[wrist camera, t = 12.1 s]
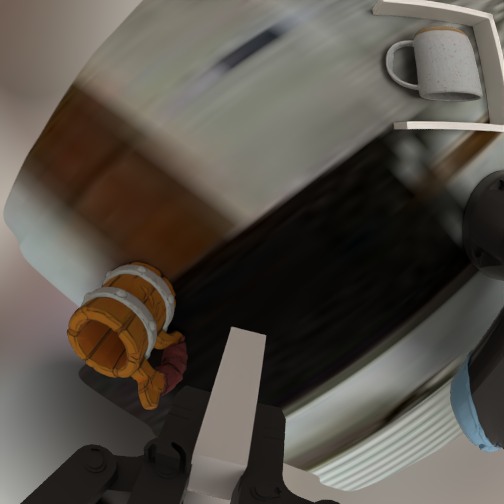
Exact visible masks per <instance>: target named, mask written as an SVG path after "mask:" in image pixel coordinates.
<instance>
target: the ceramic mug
mask: <svg viewBox="0 0 504 504" xmlns="http://www.w3.org/2000/svg"><path fill="white" fill-rule="evenodd" d="M407 46H413V47H414V53H415V60H416V66H417V77H418V85H412V84H409V83H407V82H404V81H402V80H400V79H399V78H398V77H397V76H396V75H395V74H393V59H394V55H393V54H394V52H395V51H396V50H397V49H399V48H402V47H407ZM386 67H387V71H388V73H389V74H390V76H391V77H392V79H393V80H394V81H395V82H397V83H398V84H400V85H402V86H403V87H406V88H410V89H414V90H418V91H419V94H420V96H421V97H422V98H425V99H429V100H436V101H473V100H478V99H481V98H482V95H483V94H482V89H481V84H480V79H479V74H478V69H477V65H476V61H475V57H474V52H473V49H472V45H471V43H470V41H469V39H468V37H467V35H466V34H465V33H464V32H462V31H461V30H459V29H456V28H453V27H447V26H434V27H427V28H423V29H421V30H419V31H418V32H417V33H416V34H415V36H414V40H413V41H410V40H408V41H400V42H398V43H395V44H394V45H393V46H392V47H391V48H390V49H389V50H388V52H387V55H386Z"/></svg>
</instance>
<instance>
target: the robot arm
mask: <svg viewBox="0 0 504 504" xmlns="http://www.w3.org/2000/svg"><path fill="white" fill-rule="evenodd" d="M463 243H464V247H465V251H466V254H467V256H468V258H469V260H470V261H471V262H472V264H473V265H474V266H475V267H476V268H477V269H479V270H480V271H481V272H482V273H483V274H485V275H487V276H489V277H491V278H494V279H499V280H503V281H504V171H497V172H494V173H492V174H490V175H489V176H487V177H486V178H485V179H483V180H482V181H481V182H480V184H479V185H478V186H477V187H476V189H475V190H474V192H473V193H472V195H471V197H470V199H469V202H468V204H467V207H466V210H465V214H464V220H463ZM265 340H266V335H262V334H258V333H254V332H250V331H246V330H242V329H238V328H234V327H232V328H231V331H230V334H229V338H228V341H227V344H226V347H225V351H224V354H223V357H222V361H221V364H220V367H219V370H218V374H217V377H216V380H215V383H214V387H213V390H212V393H211V392H207V391H203V390H200V389H196V388H193V387H189V386H185V387H184V388H183V389H181V390H180V391H179V392H178V393H177V394H176V396H175V399H174V401H173V403H172V406H171V408H170V410H169V413H168V415H167V418H166V420H165V422H164V425H163V427H162V430H161V432H160V434H159V437H158V438H155V439H153V440H151V441H149V442H148V443H147V445H146V446H145V447H144V455H142V456H138V457H126V456H117V455H113V454H112V453H111V452H110V451H109V450H108V449H106V448H104V447H102V446H100V445H92V444H91V445H86V446H83V447H82V448H80V449H78V450H77V451H76V452H75V453H74V454H73V455H72V456H71V457H70V458H69V459H68V460H67V461H66V462H64V463H63V464H62V465H61V466H60V467H59V468H58V469H57V470H56V471H55V472H54V473H53V474H52V475H51V476H50V477H48V478H47V479H46V480H45V481H44V482H43V483H42V484H41V485H40V486H39V487H38V488H37V489H36V490H35V491H34V492H33V493H31V494H30V495H29V496H28V497H27V498H26V499H25V500H24V501H23V502H22V503H20V504H183V501H184V497H185V494H186V491H187V490H189V491H193V492H197V493H200V494H204V495H208V496H212V497H217V498H222V499H227V500H230V499H231V502H230V504H339V503H338V502H335V501H333V500H320V501H317V502H315V503H314V502H311V501H309V500H306V499H304V498H301V497H299V496H297V495H295V494H293V493H292V492H291V491H290V490H288V488H287V487H286V485H285V484H284V481H283V476H282V472H283V457H284V440H285V423H286V419H285V417H284V414H283V412H282V410H281V408H278V407H273V406H268V405H263V404H259V403H257V397H258V391H259V384H260V376H261V369H262V362H263V355H264V347H265ZM450 393H451V397H450V399H451V405H452V409H453V412H454V415H455V417H456V419H457V421H458V424H459V425H460V427H461V429H462V431H463V432H464V434H465V435H466V436H467V438H468V439H469V440H470V441H471V442H472V443H473V444H474V445H476V446H477V445H479V448H480V449H481V450H483V451H486V452H493V451H495V450H499V449H501V448H503V449H504V306H503V308H502V309H501V311H500V312H499V314H498V316H497V317H496V319H495V320H494V322H493V323H492V325H491V326H490V328H489V329H488V330H487V332H486V333H485V335H484V336H483V338H482V339H481V340H480V342H479V343H478V344H477V346H476V347H475V349H473V350H471V351H470V353H469V354H468V356H467V358H466V361H465V362H464V363H463V365H462V366H461V368H460V369H459V370H458V372H457V373H456V374H455V376H454V378H453V380H452V383H451V389H450Z"/></svg>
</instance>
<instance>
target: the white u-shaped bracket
mask: <svg viewBox="0 0 504 504" xmlns="http://www.w3.org/2000/svg"><path fill="white" fill-rule="evenodd" d="M372 11H373V15H389V16H403V17H414V18H423V19H431V20H438V21H445V22H451V23H456V24H462V25H467V26H472V27H473V31H474V34H475V38H476V43H477V47H478V51H479V56H480V60H481V65H482V71H483V76H484V82H485V88H486V95H487V102H488V110H489V120H490V124H481V123H462V122H396V123H393V124H394V129H462V130H484V131H499V132H504V59H503V54H502V50H501V45H500V41H499V37H498V34H497V30H496V26H495V23H494V19H493V16H492V14H489V13H485V12H481V11H477V10H473V9H469V8H464V7H460V6H455V5H449V4H444V3H438V2H432V1H425V0H378V2H377V3H376V5H375V6H374V7H373V9H372Z"/></svg>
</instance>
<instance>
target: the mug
mask: <svg viewBox="0 0 504 504" xmlns="http://www.w3.org/2000/svg"><path fill="white" fill-rule="evenodd" d="M174 297H175V292H174V290H173V287H172V285H171V283H170V282H169V281H168V280H167V278H166V277H162V275H161V272H160V271H159V270H157V269H156V268H154V267H153V266H151V265H149V264H146V263H142V262H133V263H132V264H131V263H127V264H126V265H122V266H120V267H118V268H117V269H115V270H113V271H109V272H108V273H107V274H106V279H105V280H104V282H103V284H102V287H101V288H99V289H96V290H95V291H93V292H92V293H87V294H86V295H85V296H84V301H83V303H82V305H81V307H80V308H78V309H77V310H76V311H75V312H74V314H73V315H72V317H71V319H70V321H69V329H68V330H67V335H68V338H69V342H70V344H71V346H72V348H73V349H74V350H75V352H76V354H77V355H78V356H79V357H80V358H81V359H82V360H85V362H86V364H88V365H89V366H90V367H94V369H95V370H96V371H98V372H99V373H101V374H104V375H107V376H109V377H115V378H116V377H118V376H119V377H122V378H127V377H129V376H131V377H132V378H133V379H135V380H137V382H138V393H139V398H140V401H141V403H142V406H143V407H144V408H145V409H154V408H156V407H158V402H159V397H161V396H163V395H165V394H166V393H168V392H169V391H171V390H172V389H173V388H175V386H176V384H177V383H178V382H180V381H181V380H182V379H183V376H182V374H183V373H184V372H185V370H186V367H187V366H186V361H187V358H188V355H187V354H186V343H185V342H184V341H185V336H184V337H183V335H182V334H181V333H180V332H178V331H174V332H172V333H170V334H167V333H166V331H167V329H168V328H167V327H168V325H169V324H170V322H171V320H172V318H173V315H174V308H175V307H176V300H175V299H174ZM153 347H154V348H156V349H165V350H164V351H163V356H162V360H161V365H160V366H158V367H156V368H154V369H153V368H152V367H151V366H150V364H149V363H148V361H147V359H148V358H149V356H150V352H151V350H152V349H153Z"/></svg>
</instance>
